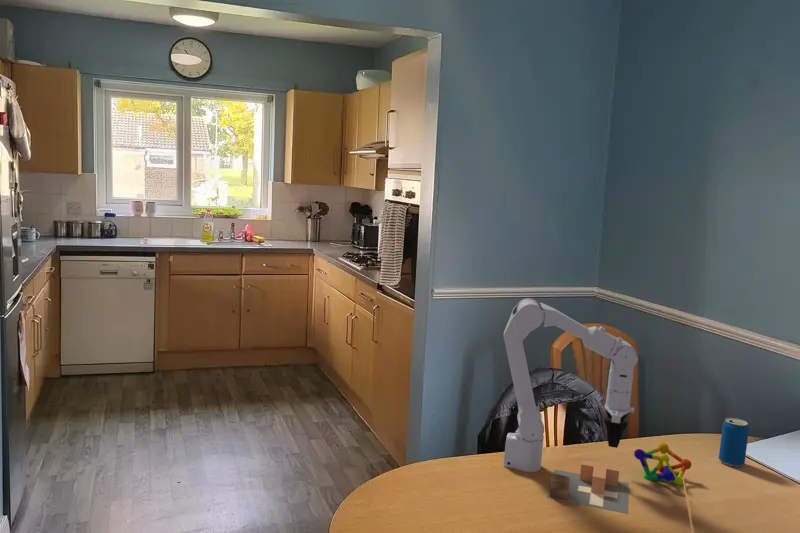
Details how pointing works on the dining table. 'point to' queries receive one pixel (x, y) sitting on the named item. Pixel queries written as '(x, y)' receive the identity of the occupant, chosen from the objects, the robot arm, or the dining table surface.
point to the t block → (599, 475)
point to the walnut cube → (559, 486)
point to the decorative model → (663, 460)
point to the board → (595, 494)
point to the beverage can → (733, 442)
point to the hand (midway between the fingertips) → (613, 441)
